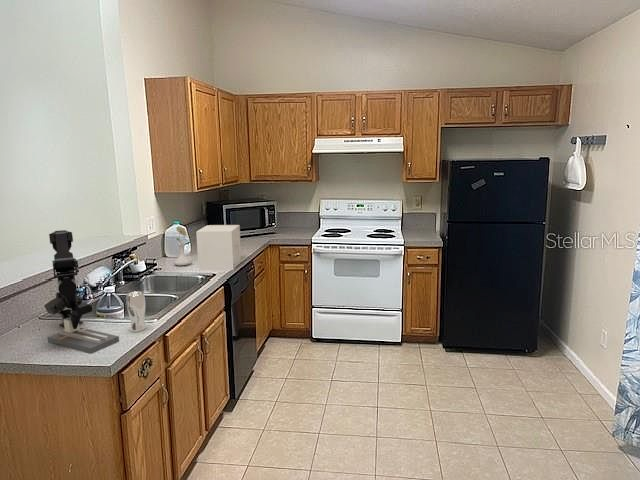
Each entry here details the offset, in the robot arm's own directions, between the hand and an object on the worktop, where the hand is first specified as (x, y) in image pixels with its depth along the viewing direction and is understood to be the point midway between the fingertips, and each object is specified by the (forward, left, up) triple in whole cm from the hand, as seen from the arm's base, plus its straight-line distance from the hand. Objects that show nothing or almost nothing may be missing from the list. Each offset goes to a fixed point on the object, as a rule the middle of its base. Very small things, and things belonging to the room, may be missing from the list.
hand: (72, 328), depth 175 cm
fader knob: (0, 0, -2) cm, 2 cm away
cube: (-23, +119, -5) cm, 122 cm away
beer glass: (+15, +18, -5) cm, 24 cm away
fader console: (+6, 0, -4) cm, 8 cm away
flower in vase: (-47, +111, -5) cm, 121 cm away
